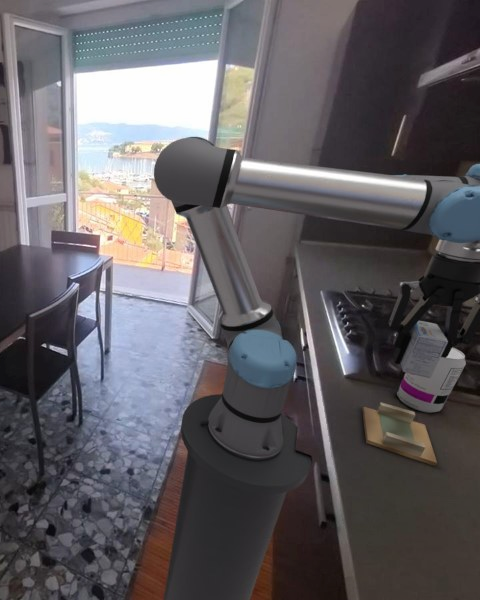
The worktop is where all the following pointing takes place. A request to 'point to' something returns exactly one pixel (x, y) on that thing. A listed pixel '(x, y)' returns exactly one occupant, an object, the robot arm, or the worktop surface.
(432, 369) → the medicine box
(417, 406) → the supplement can
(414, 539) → the worktop surface
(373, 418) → the mount pad
